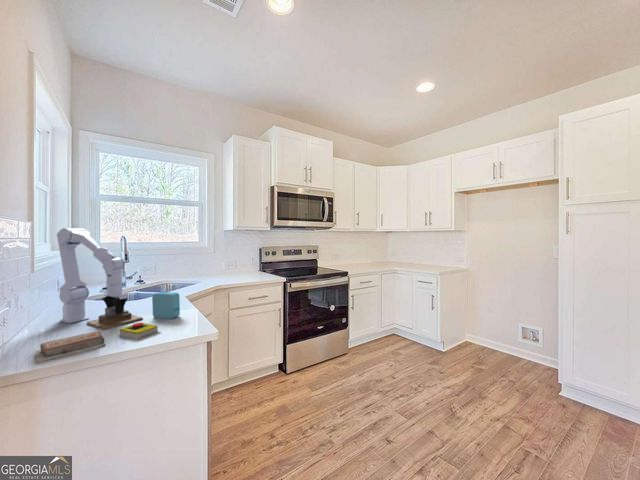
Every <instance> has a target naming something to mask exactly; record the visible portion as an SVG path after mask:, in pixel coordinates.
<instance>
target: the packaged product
mask: <svg viewBox="0 0 640 480" xmlns="http://www.w3.org/2000/svg"><path fill="white" fill-rule="evenodd" d="M106 345H107V344H106V342H105V338H104V335H103V334H102V332H101V331H98V330H97V331H92V332H89V333H84V334H83V333H82V334H78V335H73V336H68V337H64V338H58V339H55V340H49V341H45V342H43V343H40V349H38V350H34V356H35V362H36V363H37V364H39V363H43V362H48V361H50V360H53V359H54V360H55V359H58V358H63V357H66V356H71V355H72V356H73V355H75V354H79V353H80V354H81V353H83V352H89V351H91V350H95V349H99V348H103V347H106Z"/></svg>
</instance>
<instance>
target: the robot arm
mask: <svg viewBox="0 0 640 480" xmlns="http://www.w3.org/2000/svg"><path fill="white" fill-rule="evenodd" d="M56 238H57V243H58V249H59V255H60V259H61V260H60V261H61V265H62V266H61V267H62V272H63V277H64V282H65V283H64V284H62V286H60V287H59V296H58V297H59V300H60V301H61V302H62V304H63V305H62V318H61V319H59V320H60V321H61V322H64V323H65V324H72V323H76V322H80V321H85V320H89V319H90V318H89V317H88V316H86V300H87V298H88V297H89V295H90V290H89V287H87V283H86V282H84V281H82V280H81V277H80V271H79V266H78V259H77V255H76V248H77V247H78V246H80V245H81V244H82V245H84V246H85V247H86V248H87V249H89V250H90V251H91V252H93V253H92V254H93V258H95V259H96V260H98V261H99V262H100V263H101V264H102V268H103V270H104V273H105V275H106V291H104V295H103V296H104V297H102V301H103V302H104V303H105V305H106V308H108V307H113V306H115V310H116V314H121V313H122V312H123V308H124V309H125V305H126V303H127V301H128V298H127V297H126V294H125V293H124V292H123V275H122V273H123V272H122V269H124V268H125V260H124V259H123V258H122V257H120V256H119V257H118V256H116V255H115V254H113V253H112V252H111V251H110V250H109V248H108V247H101V246H100V245H99V244H98V243H97V242H96V241H95V239H94V238H92V236H91V233H90V231H88V230H87V229H86V228H66V227H64V228H61V229H60V230H59V231H58V232H57V233H56Z"/></svg>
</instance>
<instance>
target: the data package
mask: <svg viewBox="0 0 640 480" xmlns="http://www.w3.org/2000/svg"><path fill="white" fill-rule="evenodd" d="M151 297H152V300H151V301H152V316H153V317H154V318H155V319H164V320H165V319H167V320H172V319H175V318H177V317H179V316H180V315H181V313H180V312H181V311H180V309H181V308H180V302H181V301H180V294H179V293H178V292H175V291H174V292H172V291H171V292H170V291H169V292H168V291H160V292H156V293H153V294H152V296H151Z"/></svg>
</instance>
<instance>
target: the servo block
mask: <svg viewBox="0 0 640 480" xmlns="http://www.w3.org/2000/svg"><path fill="white" fill-rule="evenodd" d="M128 312H129V313H130V311H129V310H126V309H125V307H124V308H123V312H122V313H121V314H116V310H115V306H113V307H108V308H107V307H105V308H104V314H100V315H99V316H100V317H103V318H106V317H108V318H110V317H114V316H119V315H123V314H124V313H128Z"/></svg>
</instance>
